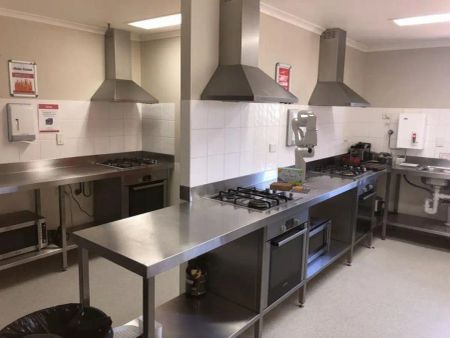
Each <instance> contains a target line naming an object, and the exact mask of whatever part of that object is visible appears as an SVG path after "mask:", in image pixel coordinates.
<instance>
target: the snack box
mask: <svg viewBox="0 0 450 338" xmlns="http://www.w3.org/2000/svg"><path fill="white" fill-rule="evenodd" d="M276 177H277V178H276V180H277V181H276V182H280V183H291V184H293V188H294V187H296V186H302V187H304V186H303V185H304V183H303V169H295V167H292V168H291V167H283V166H282V167H281V166H279V167H277V176H276Z"/></svg>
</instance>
